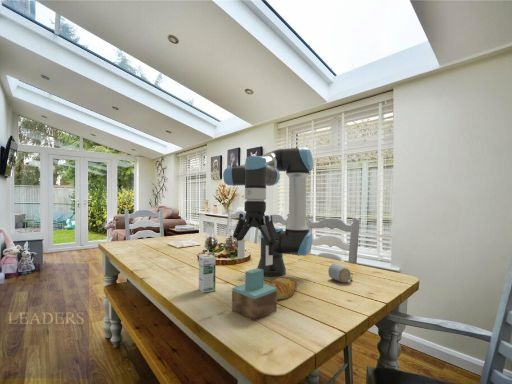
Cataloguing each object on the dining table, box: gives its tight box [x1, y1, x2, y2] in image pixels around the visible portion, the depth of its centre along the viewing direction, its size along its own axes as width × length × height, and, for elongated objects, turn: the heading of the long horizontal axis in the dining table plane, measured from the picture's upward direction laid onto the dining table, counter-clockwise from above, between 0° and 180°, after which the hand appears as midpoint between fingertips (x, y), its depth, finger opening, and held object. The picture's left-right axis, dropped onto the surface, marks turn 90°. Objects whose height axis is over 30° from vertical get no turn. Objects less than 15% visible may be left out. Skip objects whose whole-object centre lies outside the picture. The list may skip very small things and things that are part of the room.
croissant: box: [269, 277, 298, 301], centre depth 112 cm, size 21×10×8 cm, turn 139°
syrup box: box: [198, 254, 216, 294], centre depth 117 cm, size 6×6×14 cm
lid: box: [231, 268, 277, 299], centre depth 96 cm, size 11×11×9 cm
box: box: [231, 290, 278, 322], centre depth 96 cm, size 11×11×7 cm
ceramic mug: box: [327, 262, 353, 284], centre depth 132 cm, size 11×8×8 cm
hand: (254, 261), depth 96 cm, fingers open, 13 cm apart
